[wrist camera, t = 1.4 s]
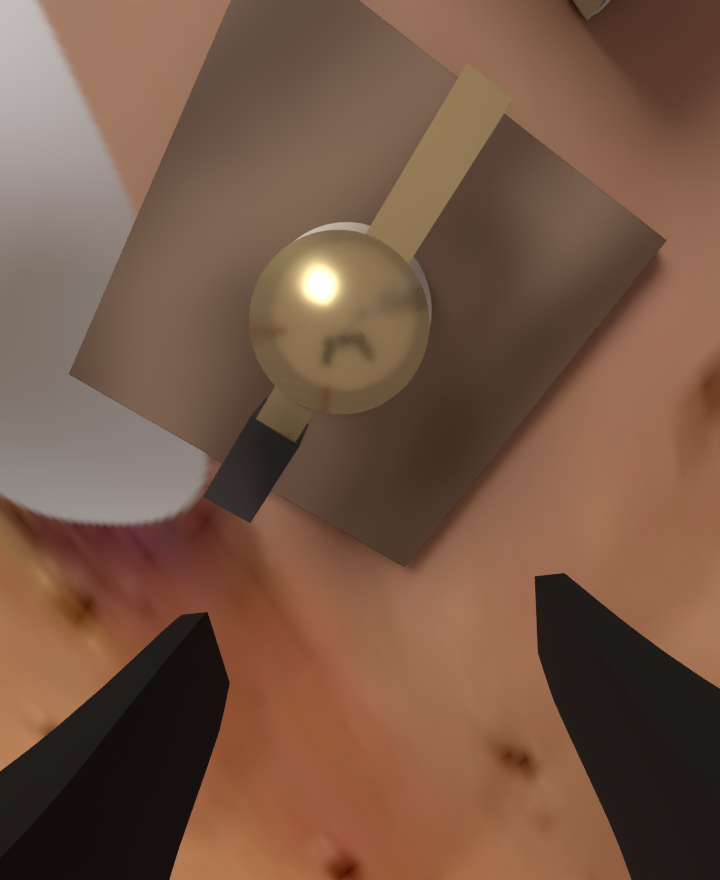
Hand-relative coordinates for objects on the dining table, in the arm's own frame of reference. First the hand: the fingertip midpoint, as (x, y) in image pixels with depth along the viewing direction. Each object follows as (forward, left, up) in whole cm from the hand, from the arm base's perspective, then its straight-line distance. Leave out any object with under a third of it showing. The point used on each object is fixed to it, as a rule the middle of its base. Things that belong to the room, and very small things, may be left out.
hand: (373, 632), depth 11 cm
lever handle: (+4, -5, -5) cm, 8 cm away
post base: (+4, -5, -8) cm, 11 cm away
